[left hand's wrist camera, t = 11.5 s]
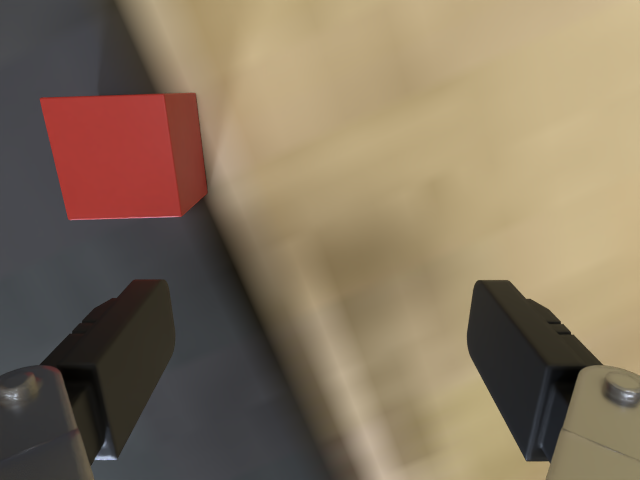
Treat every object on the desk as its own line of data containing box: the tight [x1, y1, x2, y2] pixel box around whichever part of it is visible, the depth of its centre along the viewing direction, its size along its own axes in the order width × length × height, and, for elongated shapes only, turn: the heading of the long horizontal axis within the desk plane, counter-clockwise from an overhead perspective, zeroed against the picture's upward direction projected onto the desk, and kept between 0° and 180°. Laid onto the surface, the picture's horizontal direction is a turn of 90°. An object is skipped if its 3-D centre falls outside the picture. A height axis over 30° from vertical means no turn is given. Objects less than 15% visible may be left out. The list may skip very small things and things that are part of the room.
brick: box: [40, 93, 207, 220], centre depth 20 cm, size 5×5×4 cm
